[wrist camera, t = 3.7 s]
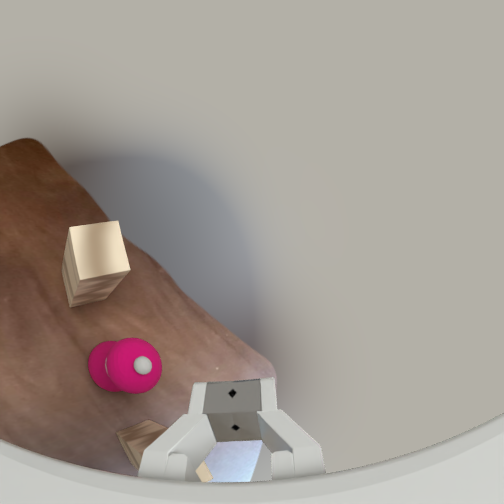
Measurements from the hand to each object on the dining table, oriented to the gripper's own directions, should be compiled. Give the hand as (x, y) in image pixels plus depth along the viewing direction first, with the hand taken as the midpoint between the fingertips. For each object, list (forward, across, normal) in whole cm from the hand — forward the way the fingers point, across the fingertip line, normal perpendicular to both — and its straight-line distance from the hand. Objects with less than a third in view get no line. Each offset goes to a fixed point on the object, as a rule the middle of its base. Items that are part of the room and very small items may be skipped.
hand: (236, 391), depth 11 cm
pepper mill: (+23, -23, -20) cm, 38 cm away
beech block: (+30, -26, -9) cm, 41 cm away
